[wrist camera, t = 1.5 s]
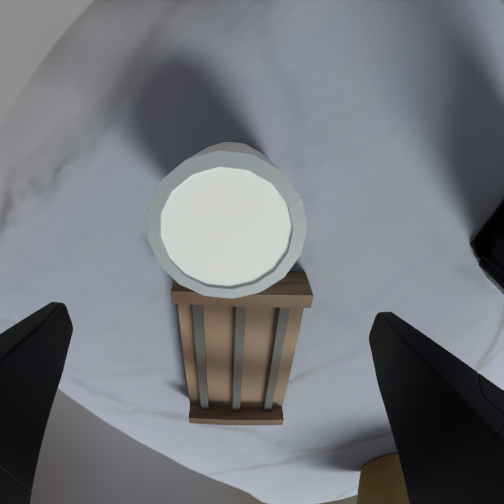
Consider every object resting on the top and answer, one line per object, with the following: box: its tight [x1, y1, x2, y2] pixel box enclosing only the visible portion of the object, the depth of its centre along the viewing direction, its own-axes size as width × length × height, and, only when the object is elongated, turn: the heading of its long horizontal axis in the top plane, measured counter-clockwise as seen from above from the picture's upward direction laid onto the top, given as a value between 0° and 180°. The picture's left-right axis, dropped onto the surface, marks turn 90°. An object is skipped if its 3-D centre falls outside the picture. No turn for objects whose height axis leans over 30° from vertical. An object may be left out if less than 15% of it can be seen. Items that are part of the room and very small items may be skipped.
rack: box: [171, 272, 313, 425], centre depth 25 cm, size 16×9×3 cm, turn 177°
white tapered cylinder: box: [147, 142, 307, 299], centre depth 16 cm, size 7×7×7 cm
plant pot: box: [357, 454, 410, 504], centre depth 35 cm, size 15×15×16 cm
